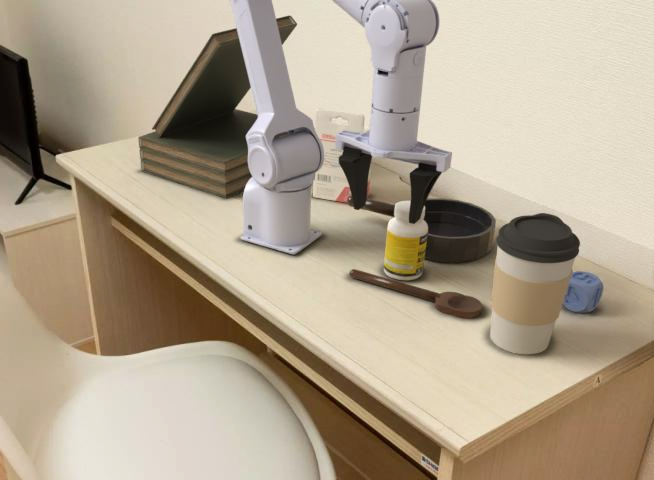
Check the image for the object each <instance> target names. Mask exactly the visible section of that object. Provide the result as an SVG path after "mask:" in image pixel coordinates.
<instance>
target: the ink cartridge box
mask: <svg viewBox="0 0 654 480" xmlns="http://www.w3.org/2000/svg"><path fill="white" fill-rule="evenodd" d="M338 118H341V119H342V120H344V121H347V122H341V121H335V120H334V121H333V120H332V119H338ZM314 129H315V131H316V134H317V135H318V137H319V139H320V140H321V142H322V145H323V149H324V162H323V165H322V167H321V169H320V170H319V171H317V172H316V173H315V180H314V181H312V196H313V198H316V199H322V200H327V201H333V202H340V203H346V204H347V198H348V197H349V196H350V195H351V191H350V187H349V184H348V181H347V178H346V176H345V174H344V172H343V170H342V168H341V166H340V164H339V156H341V155H342V153H343V150H337V149H335V144H336V134H337V133H339V132H341V131H343V130H346V131H352V132H362V133H370V125H369V126H368V125H365V115H364V114H362V113H352V112H348V111H341V110H333V109H324V108H317V109H316V110H315V125H314ZM371 171H372V163H371V164H370V169H369V175H368V188H367V198H368V197H369V196H370V190H371V189H370V188H371V175H372V173H371Z"/></svg>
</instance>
